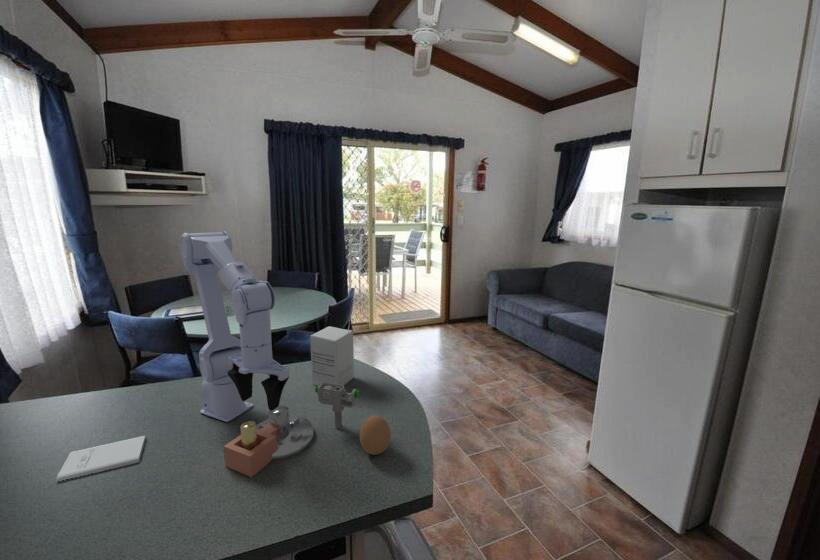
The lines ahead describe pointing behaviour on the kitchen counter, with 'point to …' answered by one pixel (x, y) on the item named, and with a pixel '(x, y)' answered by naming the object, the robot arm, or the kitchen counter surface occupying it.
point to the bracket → (252, 451)
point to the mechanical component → (336, 399)
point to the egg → (375, 435)
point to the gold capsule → (249, 435)
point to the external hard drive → (102, 458)
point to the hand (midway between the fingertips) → (260, 403)
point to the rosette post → (289, 432)
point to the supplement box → (332, 356)
